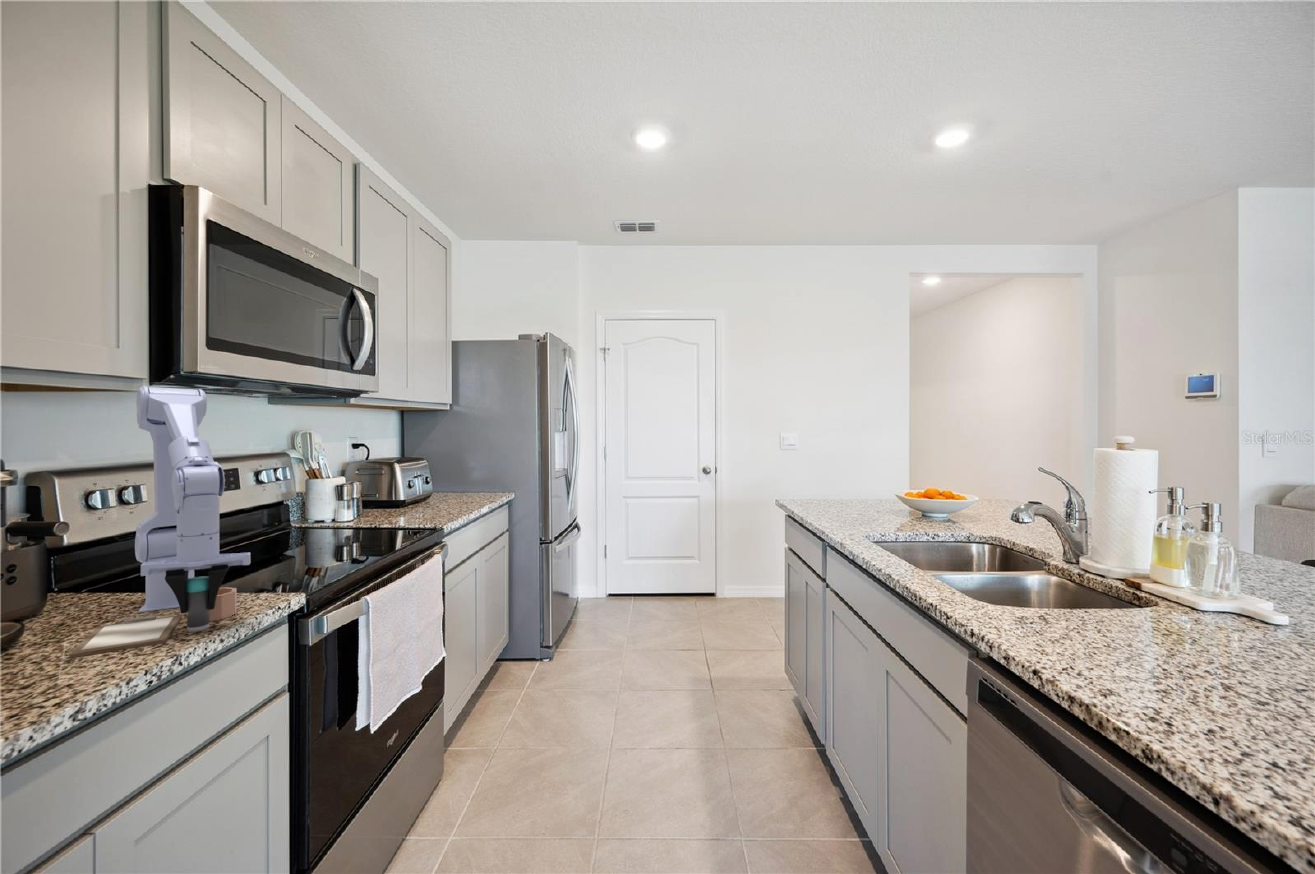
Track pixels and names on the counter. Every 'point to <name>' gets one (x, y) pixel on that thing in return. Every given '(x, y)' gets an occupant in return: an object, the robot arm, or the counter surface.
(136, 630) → the picture frame
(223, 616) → the terracotta pot
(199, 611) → the marker
